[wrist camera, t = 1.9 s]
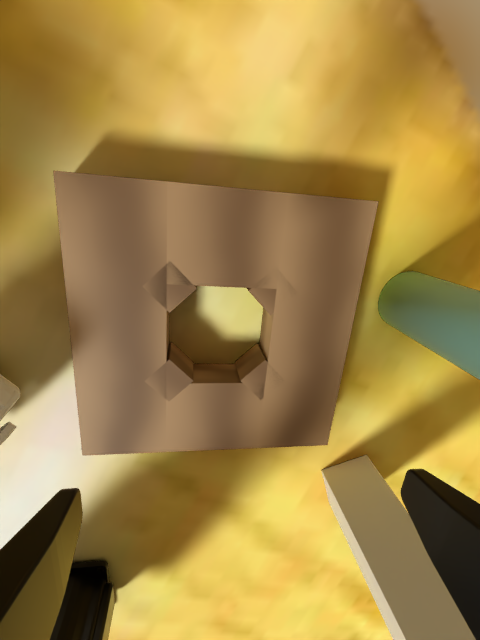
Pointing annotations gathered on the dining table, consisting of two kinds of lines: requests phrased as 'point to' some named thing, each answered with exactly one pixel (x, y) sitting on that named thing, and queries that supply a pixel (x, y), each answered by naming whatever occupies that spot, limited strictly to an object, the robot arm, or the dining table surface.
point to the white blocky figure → (7, 405)
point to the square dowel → (392, 555)
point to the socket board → (182, 279)
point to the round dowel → (435, 316)
